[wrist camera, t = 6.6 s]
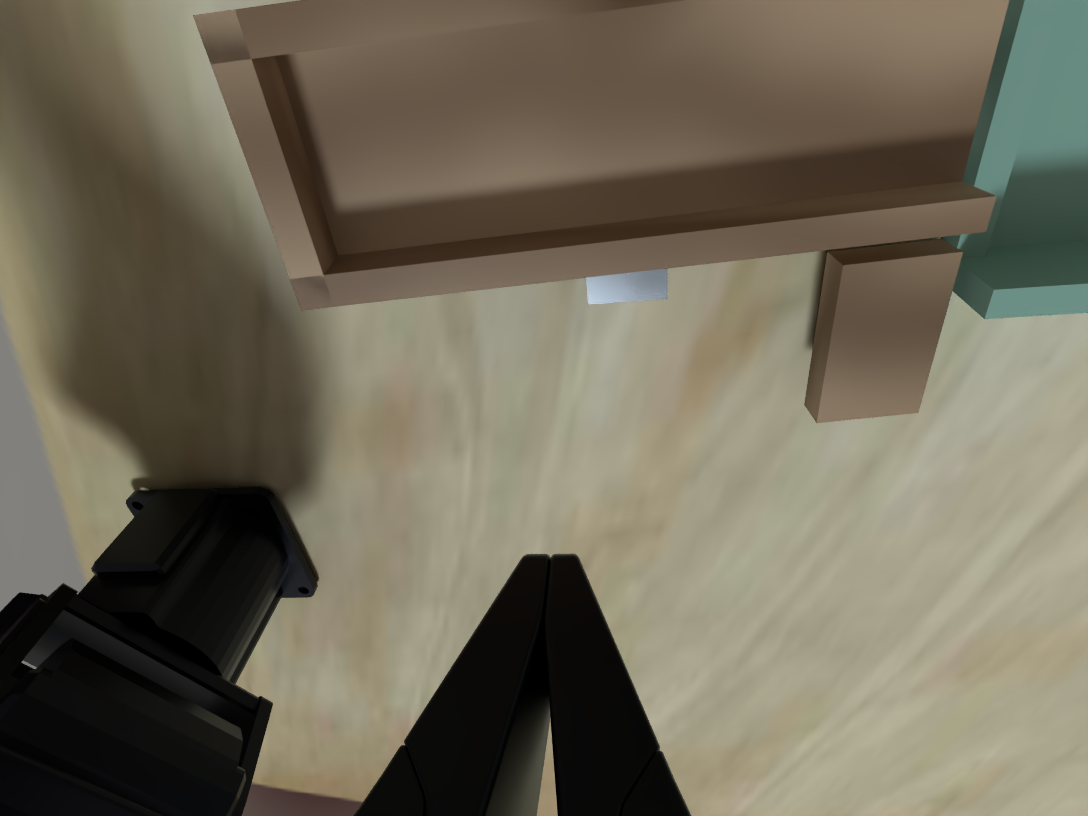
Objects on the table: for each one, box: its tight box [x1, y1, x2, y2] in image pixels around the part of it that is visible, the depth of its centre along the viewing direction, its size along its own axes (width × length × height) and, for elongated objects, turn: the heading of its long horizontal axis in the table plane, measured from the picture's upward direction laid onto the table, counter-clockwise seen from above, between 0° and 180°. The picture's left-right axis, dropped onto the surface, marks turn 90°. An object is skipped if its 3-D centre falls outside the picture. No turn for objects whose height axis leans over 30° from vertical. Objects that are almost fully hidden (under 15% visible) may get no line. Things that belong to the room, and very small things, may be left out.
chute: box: [193, 0, 1009, 423], centre depth 15 cm, size 12×16×2 cm
